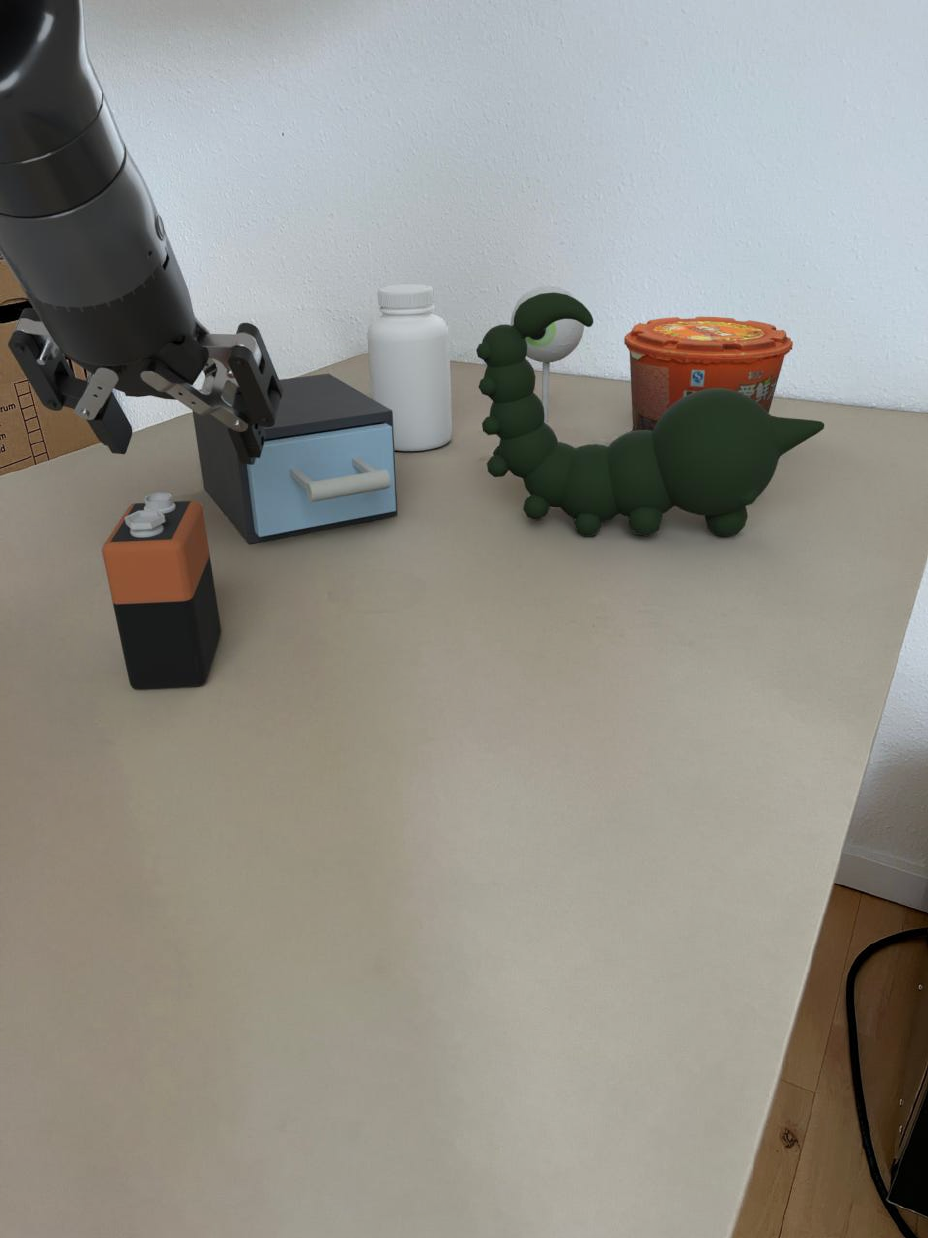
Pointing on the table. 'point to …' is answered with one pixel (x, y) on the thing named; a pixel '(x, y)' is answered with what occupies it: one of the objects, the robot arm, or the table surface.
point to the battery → (163, 592)
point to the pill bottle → (411, 366)
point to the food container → (701, 362)
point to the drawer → (322, 478)
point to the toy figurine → (629, 443)
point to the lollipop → (551, 340)
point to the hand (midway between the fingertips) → (188, 448)
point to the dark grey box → (298, 412)
